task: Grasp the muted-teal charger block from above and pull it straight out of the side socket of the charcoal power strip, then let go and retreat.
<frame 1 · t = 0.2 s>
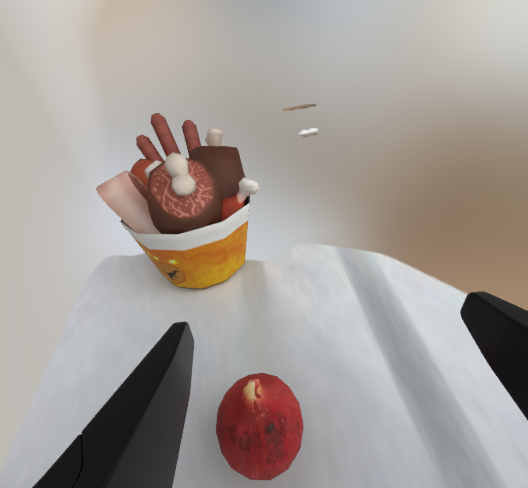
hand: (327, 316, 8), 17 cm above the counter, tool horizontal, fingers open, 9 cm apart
bucket of meat: (206, 264, 40), on the counter
onion: (265, 445, 20), on the counter
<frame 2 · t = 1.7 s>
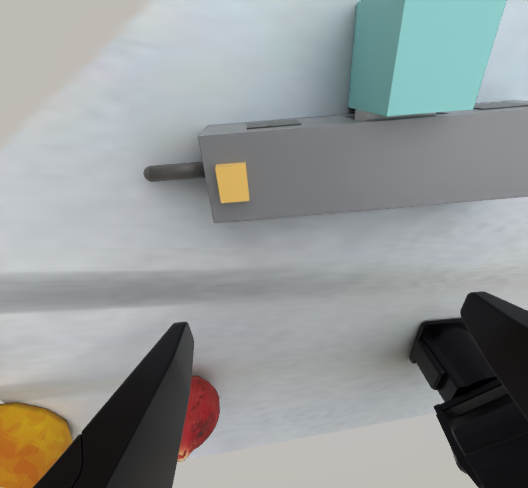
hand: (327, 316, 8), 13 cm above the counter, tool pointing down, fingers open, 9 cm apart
charger: (406, 76, 14), point 3 cm above the counter, slide at 0.0 cm
bucket of meat: (23, 423, 34), on the counter
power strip: (358, 152, 18), on the counter
onion: (197, 375, 31), on the counter
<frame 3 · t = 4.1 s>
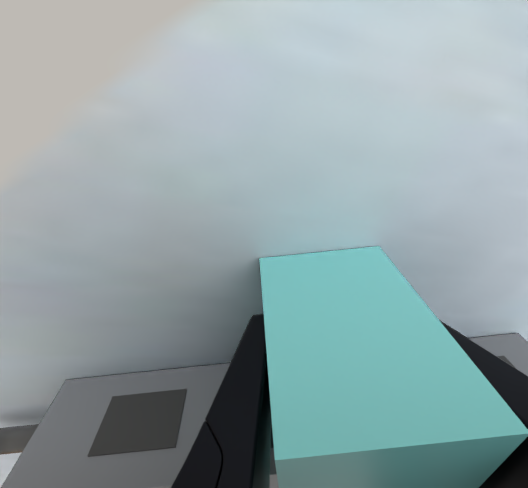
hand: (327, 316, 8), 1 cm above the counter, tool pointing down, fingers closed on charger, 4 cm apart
charger: (336, 393, 8), point 3 cm above the counter, slide at 0.0 cm, touching gripper
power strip: (294, 388, 13), on the counter
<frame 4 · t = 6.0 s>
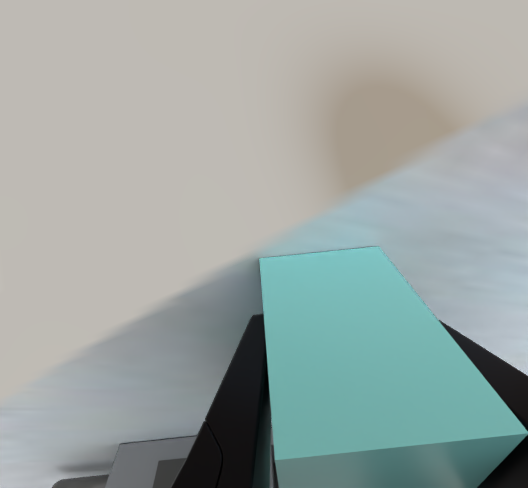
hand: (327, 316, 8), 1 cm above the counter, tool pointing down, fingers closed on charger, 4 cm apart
charger: (336, 393, 8), point 3 cm above the counter, slide at 6.4 cm, touching gripper
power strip: (296, 445, 16), on the counter
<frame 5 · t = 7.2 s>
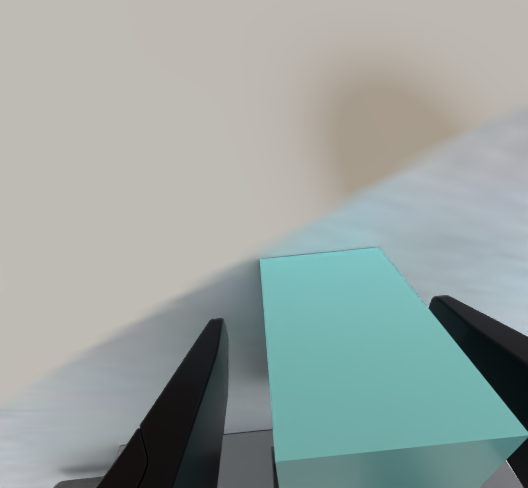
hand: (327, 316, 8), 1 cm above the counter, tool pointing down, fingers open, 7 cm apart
charger: (336, 394, 8), point 3 cm above the counter, slide at 6.4 cm
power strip: (296, 446, 16), on the counter
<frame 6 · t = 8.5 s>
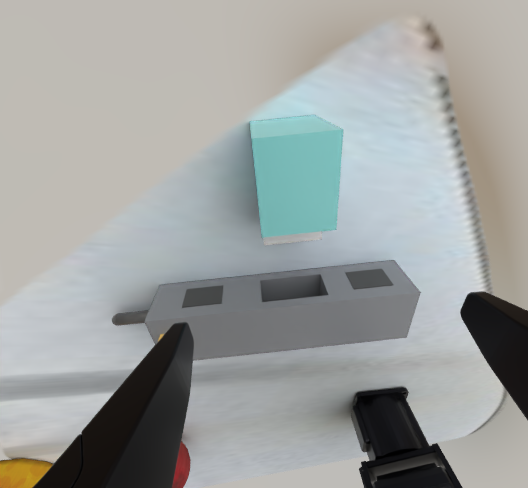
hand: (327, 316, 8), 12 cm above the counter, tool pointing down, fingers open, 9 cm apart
charger: (290, 189, 16), point 3 cm above the counter, slide at 6.4 cm
bucket of meat: (28, 472, 40), on the counter
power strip: (278, 294, 24), on the counter
onion: (173, 433, 37), on the counter
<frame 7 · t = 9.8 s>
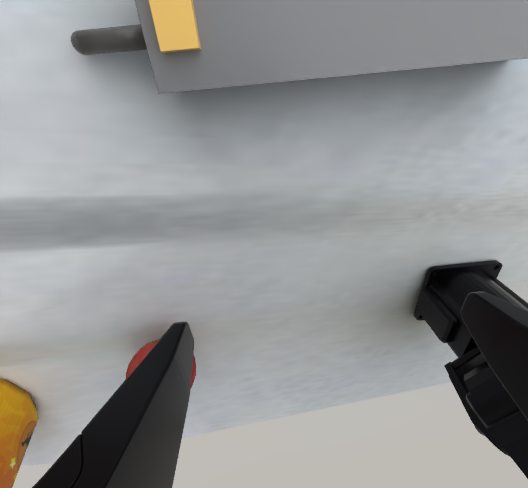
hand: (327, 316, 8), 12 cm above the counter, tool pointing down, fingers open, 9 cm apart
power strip: (347, 21, 14), on the counter
onion: (172, 337, 27), on the counter
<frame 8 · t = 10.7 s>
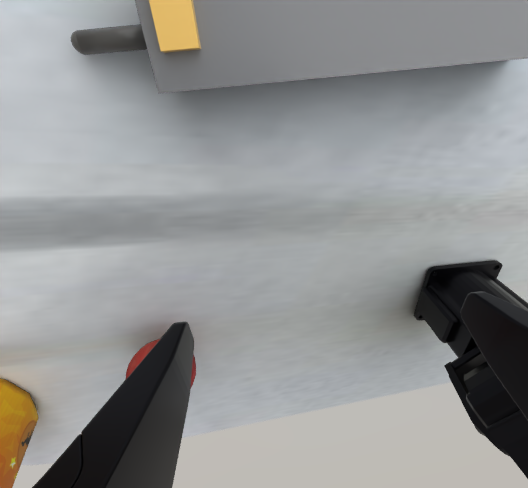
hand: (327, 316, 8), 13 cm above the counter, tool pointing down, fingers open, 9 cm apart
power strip: (348, 21, 14), on the counter
onion: (172, 337, 27), on the counter
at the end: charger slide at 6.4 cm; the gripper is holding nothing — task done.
